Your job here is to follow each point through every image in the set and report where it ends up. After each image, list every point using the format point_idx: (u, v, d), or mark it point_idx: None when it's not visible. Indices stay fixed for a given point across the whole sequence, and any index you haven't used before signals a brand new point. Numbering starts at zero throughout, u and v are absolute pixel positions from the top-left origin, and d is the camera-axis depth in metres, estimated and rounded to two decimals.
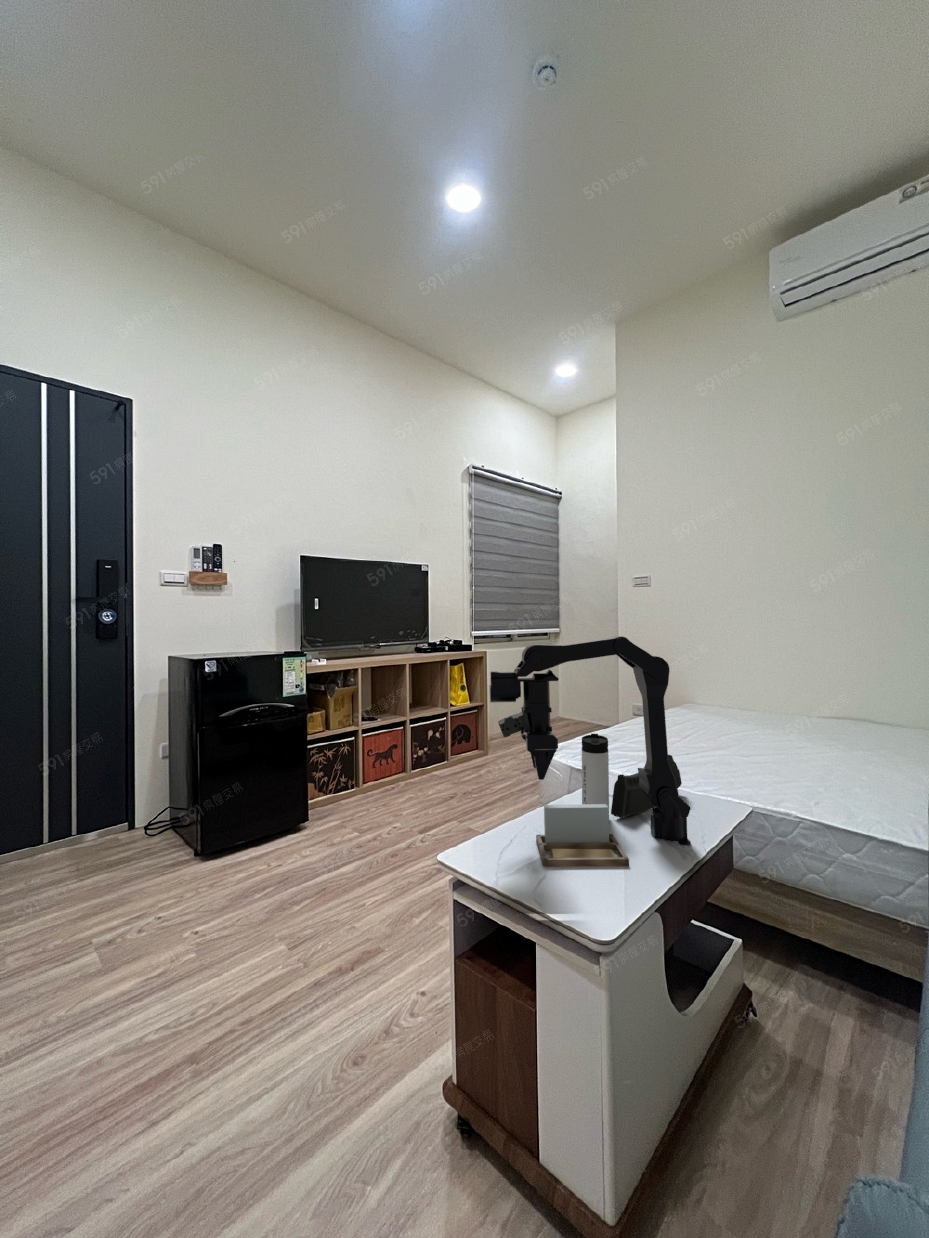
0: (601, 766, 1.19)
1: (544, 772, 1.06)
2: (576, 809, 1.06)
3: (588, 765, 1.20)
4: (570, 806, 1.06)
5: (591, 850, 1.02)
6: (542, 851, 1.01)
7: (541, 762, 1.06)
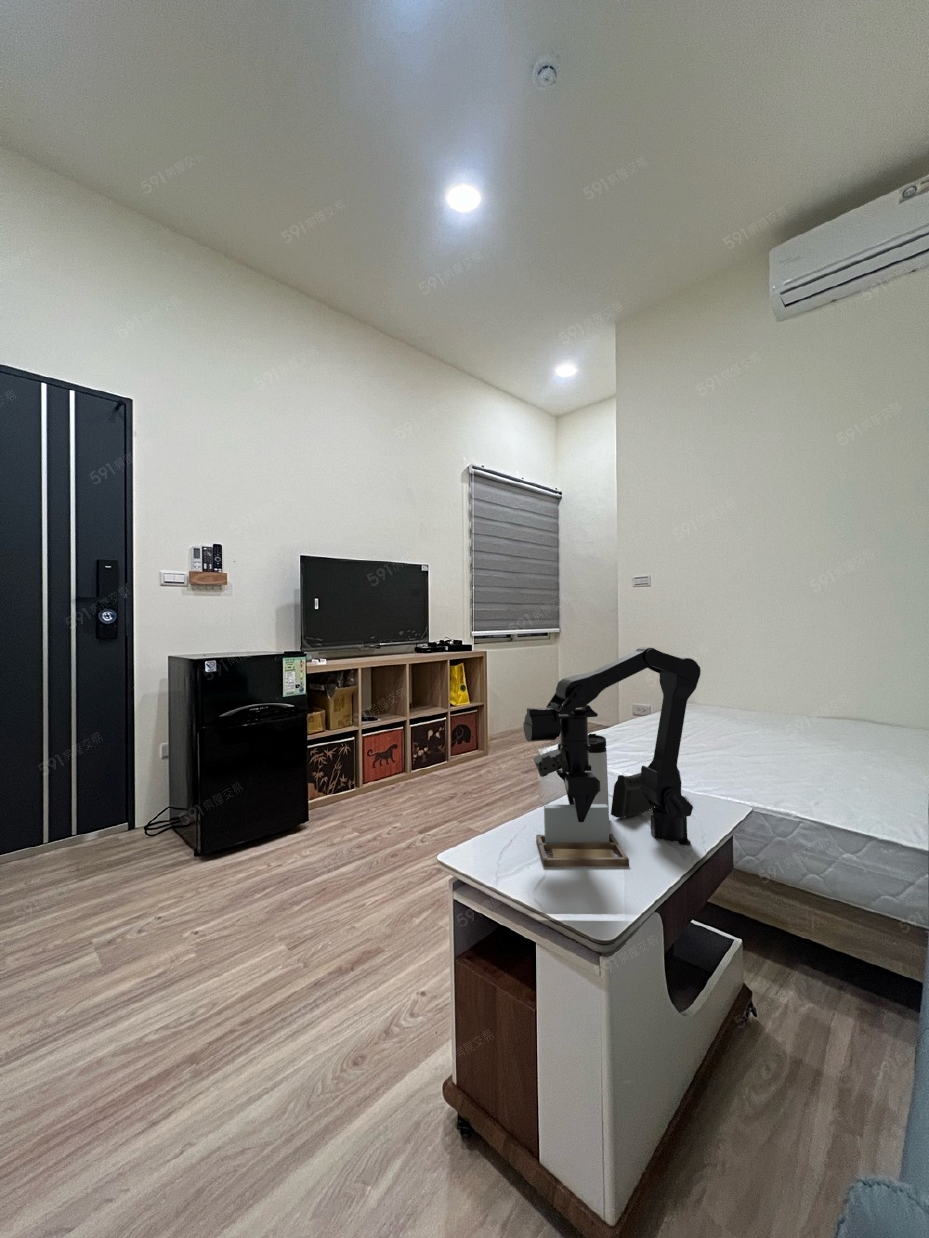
0: (599, 765, 1.20)
1: (584, 814, 1.01)
2: None
3: None
4: (570, 806, 1.06)
5: (591, 850, 1.02)
6: (542, 851, 1.01)
7: (581, 804, 1.01)
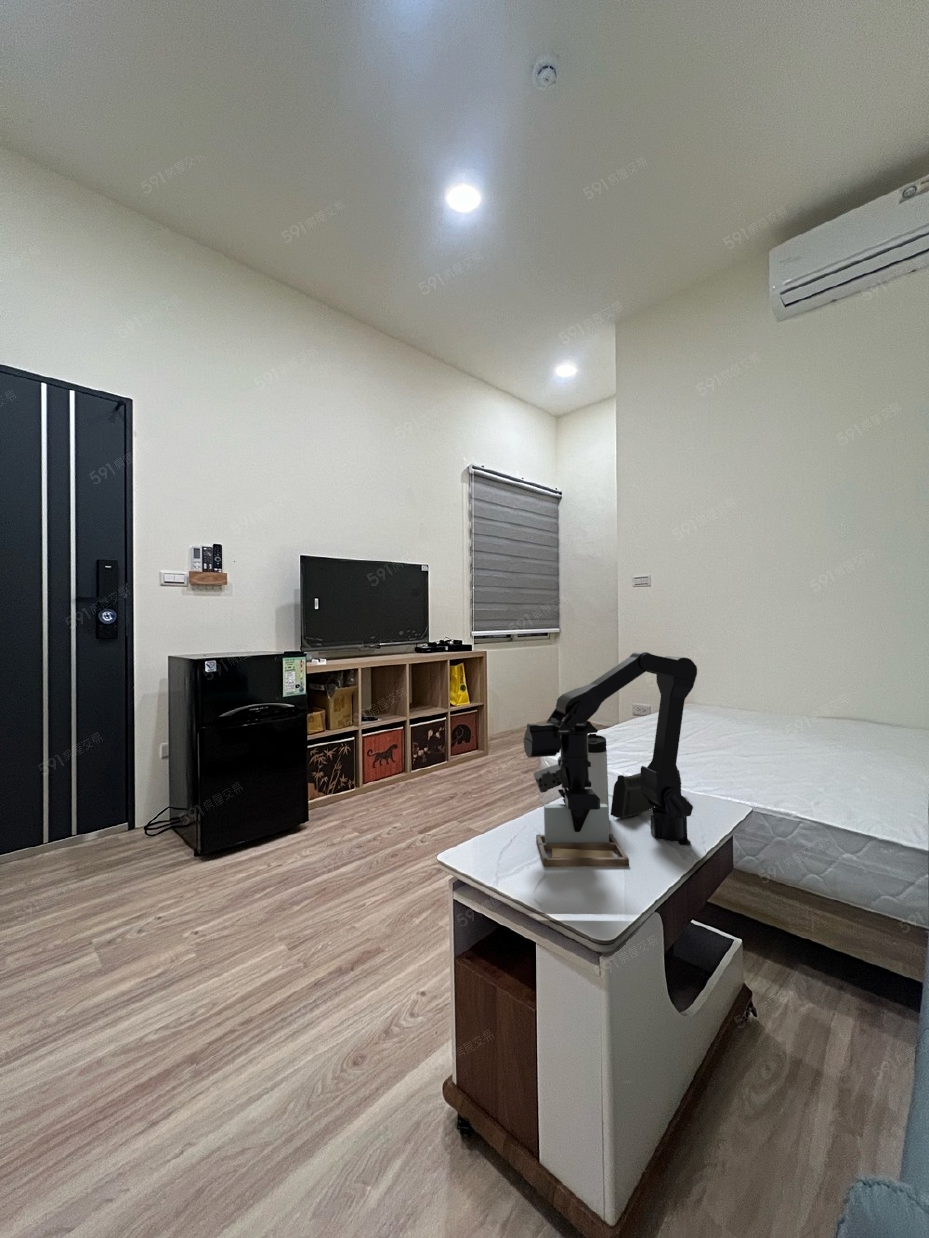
0: (599, 765, 1.20)
1: (580, 824, 1.05)
2: None
3: None
4: None
5: (592, 851, 1.02)
6: (542, 851, 1.01)
7: (578, 815, 1.04)
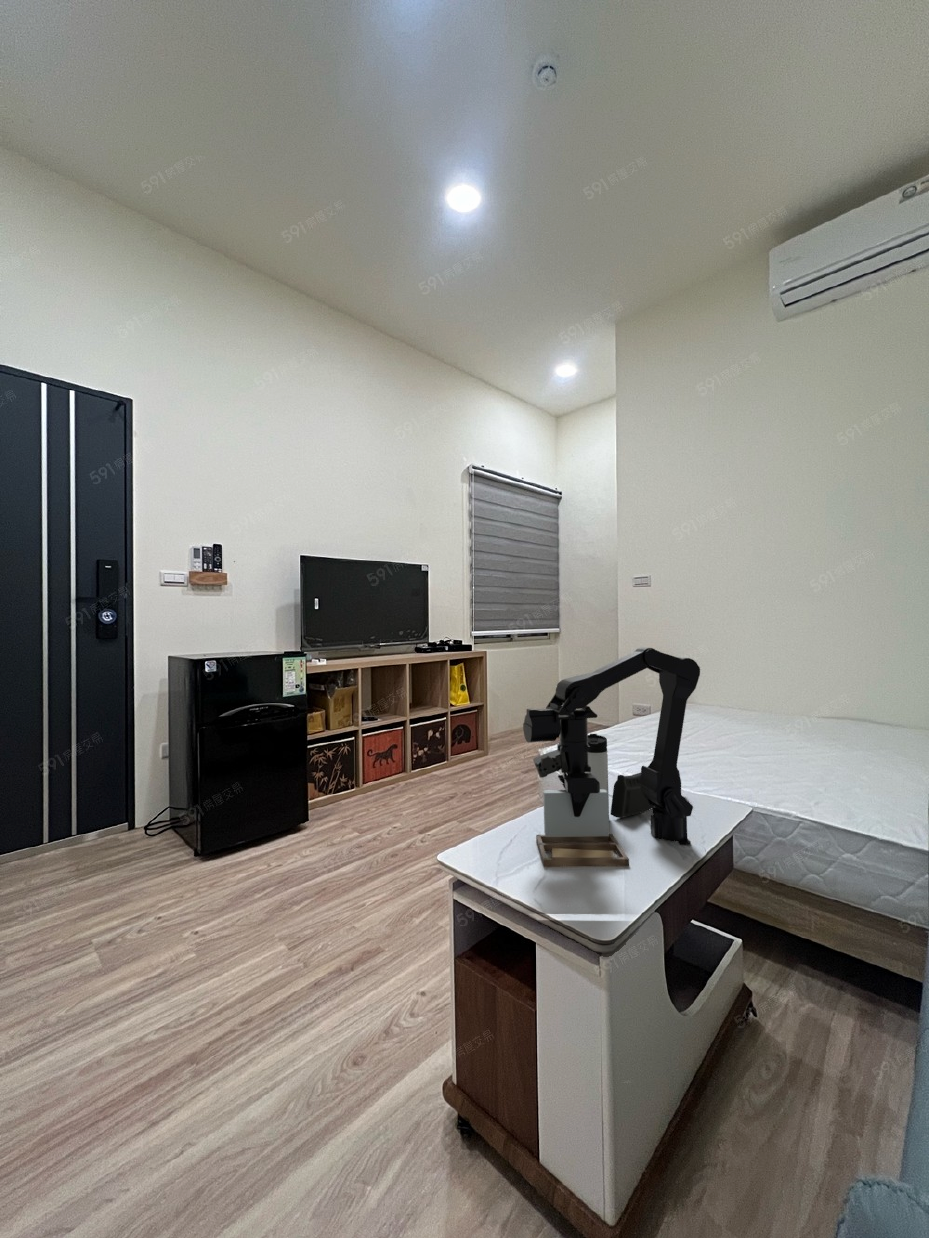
0: (600, 765, 1.20)
1: (580, 809, 1.05)
2: None
3: None
4: None
5: (592, 851, 1.02)
6: (542, 851, 1.01)
7: (577, 799, 1.04)
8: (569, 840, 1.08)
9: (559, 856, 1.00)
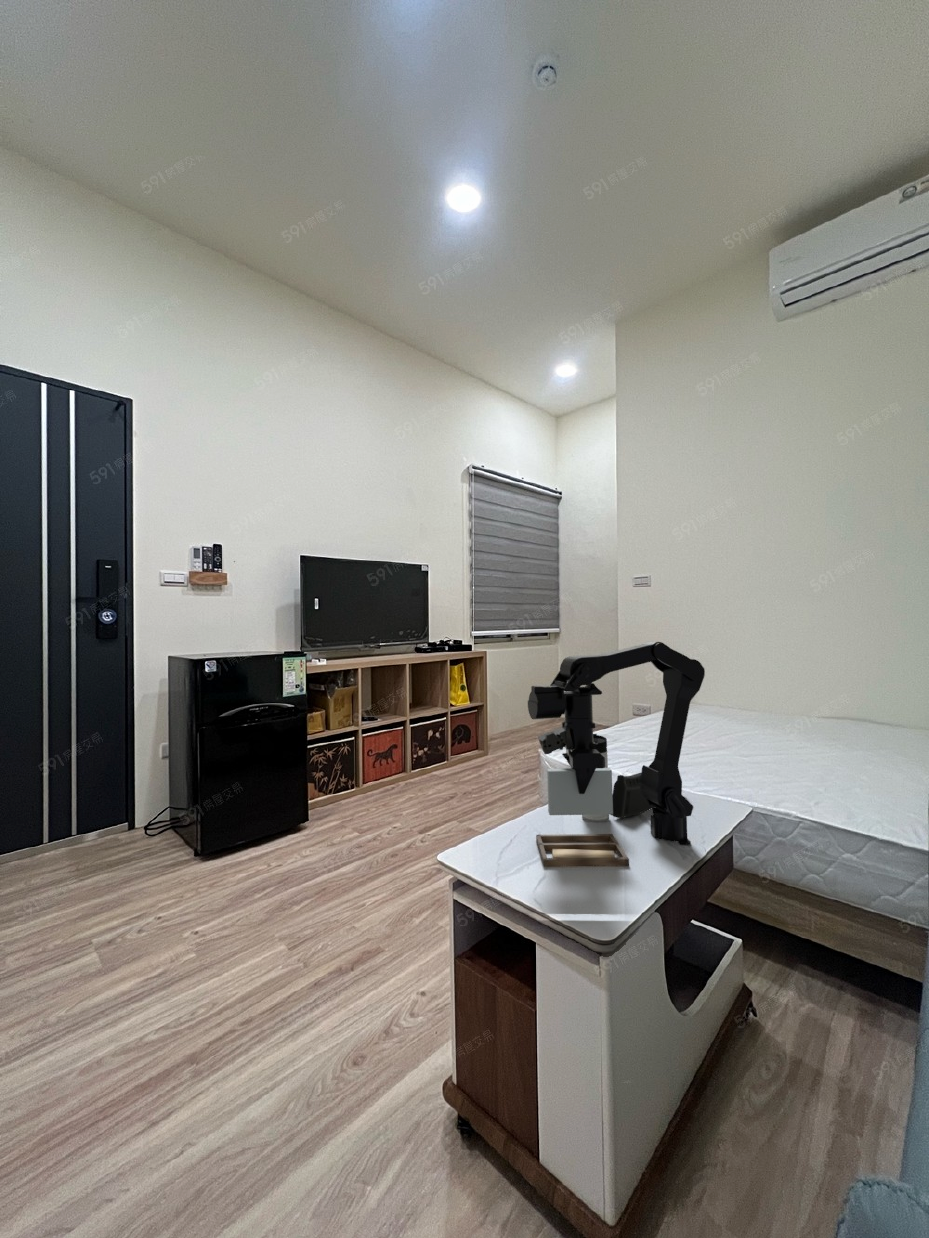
0: None
1: (585, 786, 1.04)
2: None
3: None
4: (573, 769, 1.06)
5: (592, 851, 1.02)
6: (542, 851, 1.01)
7: (582, 776, 1.04)
8: (569, 840, 1.08)
9: (560, 856, 1.00)
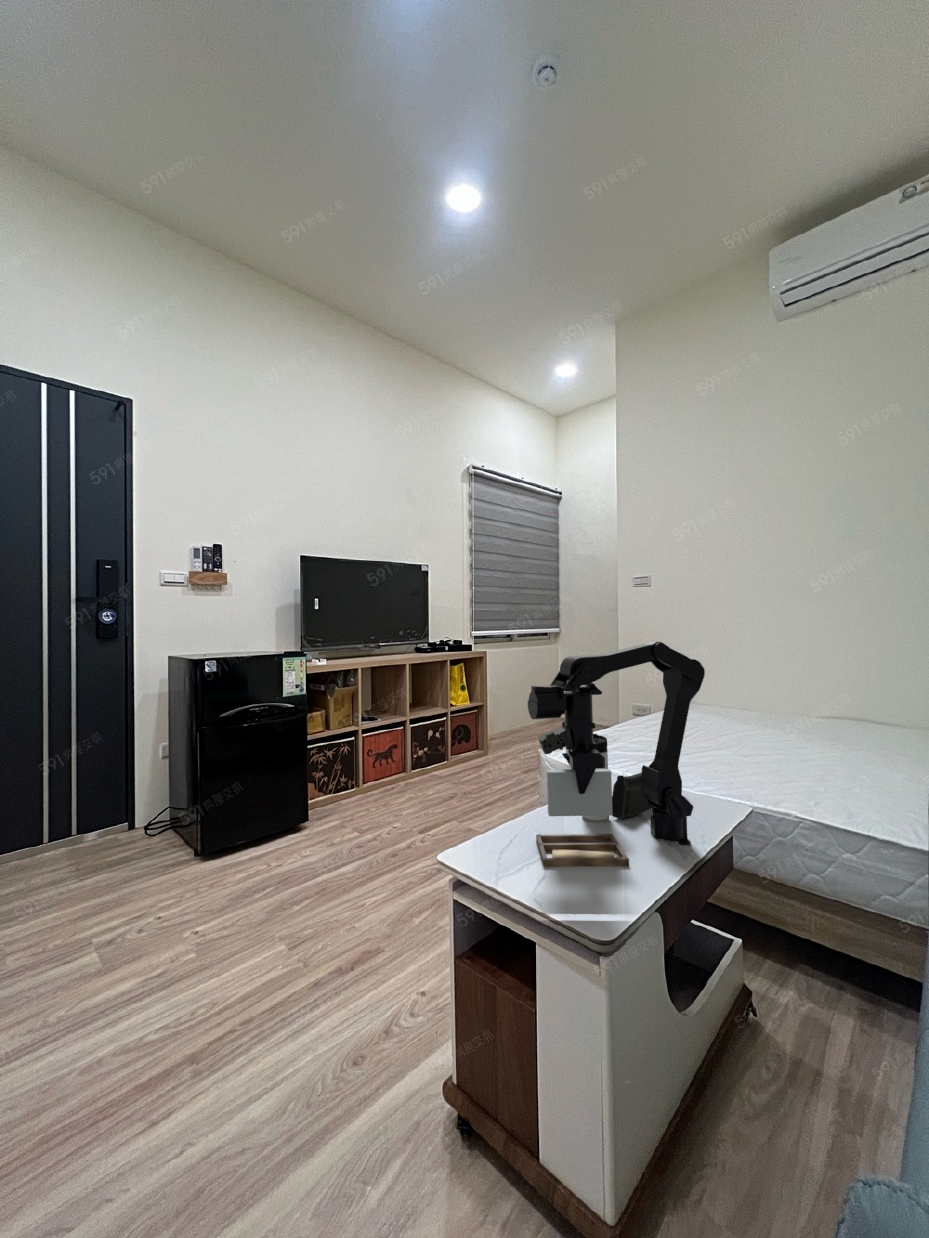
0: None
1: (585, 786, 1.04)
2: None
3: None
4: (573, 770, 1.06)
5: (592, 852, 1.02)
6: (542, 851, 1.01)
7: (582, 776, 1.04)
8: (569, 840, 1.08)
9: (559, 857, 1.00)
